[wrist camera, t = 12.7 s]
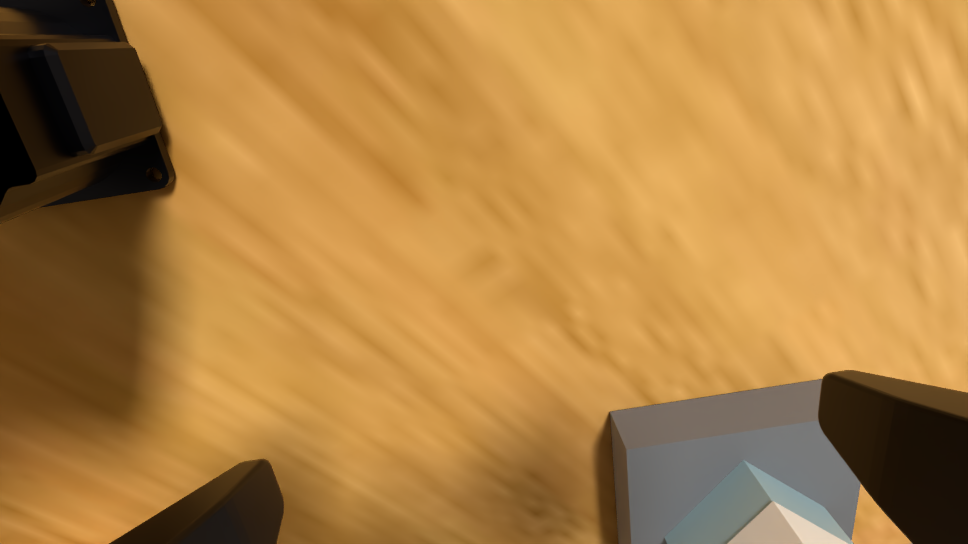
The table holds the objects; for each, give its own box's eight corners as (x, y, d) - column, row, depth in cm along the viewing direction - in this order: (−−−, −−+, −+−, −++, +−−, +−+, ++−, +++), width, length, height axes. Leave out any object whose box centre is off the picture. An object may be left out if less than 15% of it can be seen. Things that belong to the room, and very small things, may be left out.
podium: (620, 570, 29) (635, 616, 27) (610, 411, 25) (626, 449, 23) (812, 540, 29) (844, 584, 27) (832, 377, 25) (871, 412, 23)
